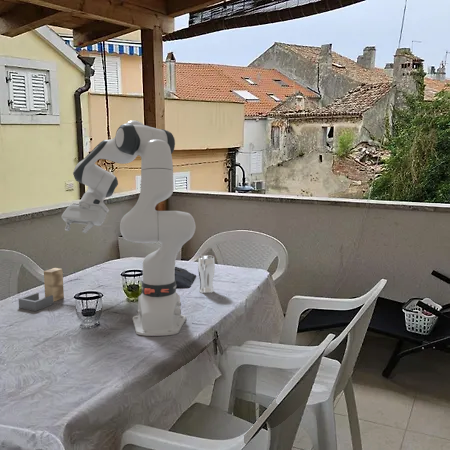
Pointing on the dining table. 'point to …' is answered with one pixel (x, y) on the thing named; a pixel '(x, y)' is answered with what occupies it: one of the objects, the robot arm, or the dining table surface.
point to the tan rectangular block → (54, 283)
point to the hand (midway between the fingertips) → (75, 231)
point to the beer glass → (206, 273)
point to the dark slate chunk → (183, 278)
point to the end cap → (35, 302)
